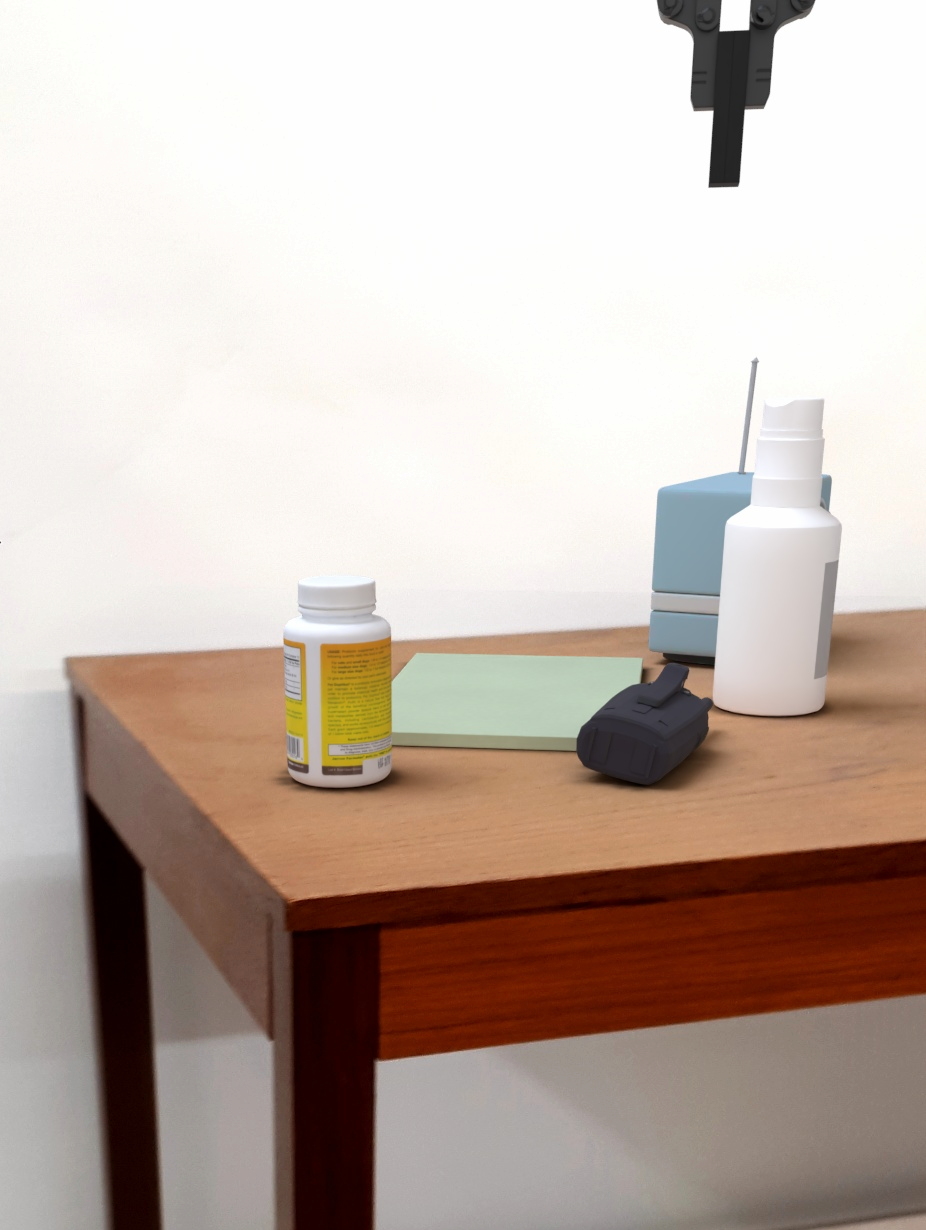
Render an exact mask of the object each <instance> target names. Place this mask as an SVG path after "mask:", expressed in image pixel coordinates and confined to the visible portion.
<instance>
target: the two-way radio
mask: <svg viewBox="0 0 926 1230" xmlns="http://www.w3.org/2000/svg"><path fill="white" fill-rule="evenodd" d="M689 674H690V667H688V666H687V665H684V664H680V663H677V662H668V663H666V665H665V666H663V669H662V671H661V672H660V674H659V675H658V676H657V678H656V679H655V680H654V681H650V682H641V683H640V684H634V685H631V686H629V687H627V688H625V689H624V690H622V691H621V692H619V693H618V694H616V695H615V696H614V697H612V698H611V699H610V700H609V701H608V702H607V703H606V704H605V705H604V706H603V707H601V708H600V709H599V710H598V711H597V712H596V713H595V714H594V715H593V716H592V717H591V719H590V720H589V721H588V722H586V723H585V724H584V725H583V726H582V727H581V729H580V732H579V734H578V737H577V742H576V751H575V752H576V756H577V758H578V760H579V761H580V762H581V764H582V766H583V767H585V768H587V769H589V770H591V771H594V772H598V773H600V774H602V775H605V776H609V777H612V778H615V779H619V780H622V781H627V782H631V783H635V784H640V785H644V786H645V785H646V786H649V785H652V784H655V783H656V782H658V781H660V780H662V779H663V778H664V777H665V776H666V775H667V774H669V773H670V772H671V771H673V769H675V768H676V767H678V765H680V764H681V763H682V762H683V761H684V760H685V759H686V758H688V756H690V754H692V753H693V752H694V751H695V750H697V749H698V748H699V747H700V746H701V745H702V744H703V743H704V742H705V740H706V738H707V737H708V736H707V735H708V733H709V730H710V726H709V711H710V710H711V709H712V707H713V705H714V702H713V699H712V698H710V697H707V696H706V697H705V696H704V697H703V698H701V697H699V696H698V695H696V694H694V693H692V691H691V690H690V689H688V688H686V687H685V683H686V680H688V677H689Z"/></svg>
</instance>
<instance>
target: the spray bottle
mask: <svg viewBox="0 0 926 1230" xmlns="http://www.w3.org/2000/svg"><path fill="white" fill-rule="evenodd" d="M824 408H825V398H822V397H767V398H764V400H763V409H762V411H763V413H762V424H761V428H760V429H759V430H760V431H759V432H760V433H759V437H757V438H756V449H755V460H754V461H755V462H754V472H755V473H754V475H753V480H752V492H751V504H750V505H749V506H748V507H746V508H745V509H743V510H742V511H740V512H738V513H737V514H735V515H734V516H732V517H730V519H729V520H728V521H727V522H726V526H725V537H724V551H723V564H722V577H721V591H720V604H719V617H718V631H717V644H716V657H715V665H714V673H713V683H712V684H713V685H712V702H713V705H714V706H715V707H717V708H719V709H722V710H724V711H729V712H731V713H734V714H740V715H747V716H757V717H758V716H759V717H796V716H802V715H807V714H811V713H814V712H818V711H820V710H821V709H822V708H823V707H824V704H825V700H826V691H827V680H828V672H829V661H830V650H831V641H832V631H833V623H834V613H835V612H834V611H835V602H836V591H837V582H838V571H839V562H840V550H841V541H842V531H843V526H842V523H841V521H840V520H839V519H838V518H837V517H836V516H835V515H833V514H832V513H831V512H830V511H829V512H830V513H831V514H830V513H829V512H827V511H826V510H825V509H823V508H822V507H821V506H820V500H821V489H822V479H823V477H822V475H821V474H823V462H824V452H825V442H826V441H825V440H826V438H824V437H823V435H824V434H823V433H824V429H823V419H824V410H825V409H824Z"/></svg>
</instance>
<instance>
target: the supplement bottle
mask: <svg viewBox="0 0 926 1230" xmlns="http://www.w3.org/2000/svg"><path fill="white" fill-rule="evenodd" d="M376 592H377V591H376V580H375V579H374V578H372V577H369V576H363V575H354V574H353V575H352V574H351V575H349V574H333V575H332V574H331V575H330V574H329V575H327V574H326V575H317V576H315V575H314V576H308V577H304V578H302V579H299V580H298V583H297V601H296V603H297V605H298V606H297V612H298V613H300V614H301V615H299V616H296V617H293V618H291V619H290V620H288V621H287V622H286V624H285V625H284V627H283V638H282V639H283V668H284V700H285V706H284V707H285V727H286V729H285V730H286V731H285V733H286V735H285V736H286V762H287V771H288V773H289V775H290V777H291V778H293V779H294V780H295V781H296V782H299V783H301V784H304V785H307V786H311V787H317V788H318V787H319V788H332V789H333V788H334V789H338V788H339V789H340V788H341V789H342V788H355V787H357V788H358V787H363V786H368V785H372V784H375V783H378V782H380V781H383V780H384V779H386V778H387V777H388V776H389V774H390V773H391V771H392V767H393V766H392V765H393V745H392V681H393V680H392V678H393V677H392V676H393V675H392V628H391V624H390V622H389V620H387V619H386V618H385V617H383V616H381V615H378V614H373V612H374V611H376V609H377V604H376V603H377V601H378V600H377V596H376V594H377V593H376Z"/></svg>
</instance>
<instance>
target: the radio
mask: <svg viewBox="0 0 926 1230" xmlns="http://www.w3.org/2000/svg"><path fill="white" fill-rule="evenodd" d="M759 362H760V361H759V359H758V357H757V356H756V357H754V358H753V360H751V361H750V363H751V368H750V375H749V376H750V377H749V384H748V391H747V392H748V393H747V401H746V408H745V417H744V424H743V425H744V426H743V433H742V440H741V450H740V456H739V457H740V458H739V465H738V466H739V467H738V471H729V472H726V473H725V472H724V473H720V474H716V475H712V476H711V475H710V476H707V477H703V478H698V479H692V480H689V481H684V482H679V483H675V484H670V485H666V486H662V487H660V488H659V489H658V490H657V495H656V512H655V527H654V528H655V529H654V546H653V559H652V560H653V562H652V579H651V590H652V591H653V592H651V595H650V597H651V598H650V609H651V611H650V614H649V628H648V629H649V631H648V650H649V651H650V652H653V653H661V654H662V657H663V658H664V659H666V660H669V661H674V662H675V661H676V662H683V663H690V664H701V665H710V666H711V665H712V666H715V657H716V644H717V631H718V617H719V604H720V591H721V577H722V564H723V551H724V537H725V526H726V522H727V521H728V520H729V519H730V517H732V516H734V515H735V514H737V513H738V512H740V511H742V510H743V509H745V508H746V507H748V506H749V505H750V504H751V492H752V480H753V475H754V473H755V471H745V468H746V458H747V451H748V445H749V444H748V443H749V436H750V435H749V433H750V427H751V419H752V412H753V411H752V410H753V403H754V395H755V388H756V387H755V386H756V380H757V379H756V377H757V372H758V371H757V370H758V363H759ZM821 475H822V477H823V479H822V489H821V500H820V506H821V507H822V508H823V509H825V510H826V511H827V512H829V513H830V514H832V513H831V511H830V505H831V494H832V484H833V479H832V478H833V477H832V476H831V474H825V473H822V474H821Z"/></svg>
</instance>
